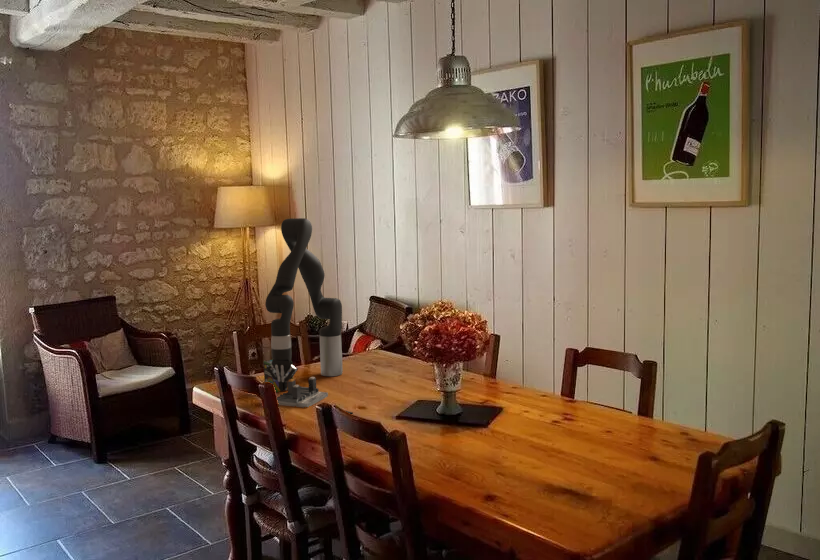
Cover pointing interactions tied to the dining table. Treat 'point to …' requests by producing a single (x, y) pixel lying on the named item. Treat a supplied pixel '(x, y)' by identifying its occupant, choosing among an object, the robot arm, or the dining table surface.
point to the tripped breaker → (291, 385)
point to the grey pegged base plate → (302, 395)
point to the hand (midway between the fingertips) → (283, 390)
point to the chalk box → (269, 377)
